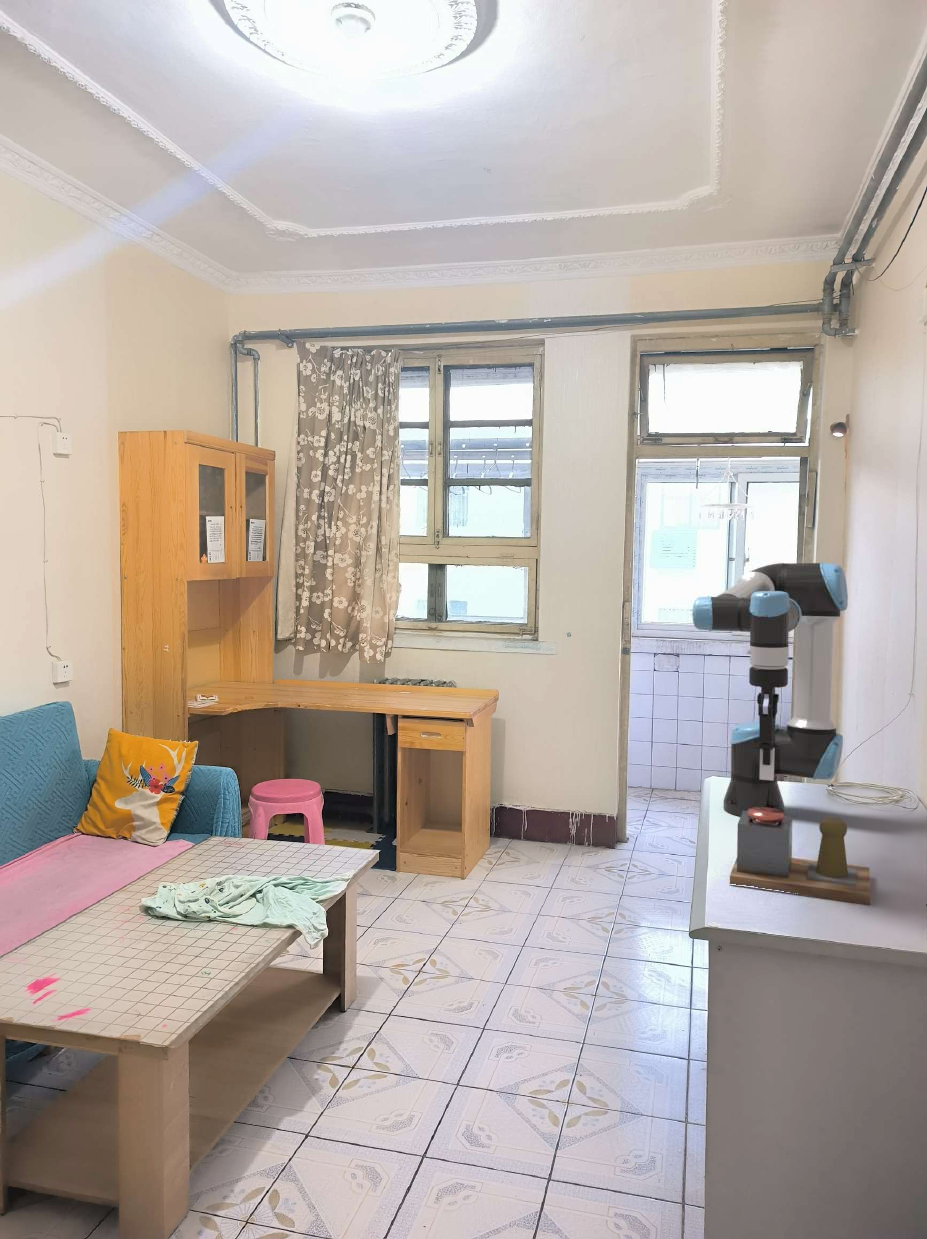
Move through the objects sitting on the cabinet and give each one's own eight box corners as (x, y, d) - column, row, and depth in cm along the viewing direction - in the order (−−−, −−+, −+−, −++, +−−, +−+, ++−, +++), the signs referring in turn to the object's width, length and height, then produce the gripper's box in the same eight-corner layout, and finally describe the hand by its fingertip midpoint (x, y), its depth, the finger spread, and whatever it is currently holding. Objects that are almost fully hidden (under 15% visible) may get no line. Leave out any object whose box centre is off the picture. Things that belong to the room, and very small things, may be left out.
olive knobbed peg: (849, 879, 175) (850, 825, 174) (816, 875, 177) (817, 822, 176) (847, 869, 181) (848, 816, 180) (815, 865, 183) (816, 813, 182)
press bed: (739, 860, 194) (739, 848, 194) (869, 876, 183) (869, 864, 183) (729, 885, 179) (729, 872, 179) (870, 905, 169) (870, 891, 169)
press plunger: (749, 847, 188) (749, 805, 188) (783, 852, 186) (784, 809, 185) (745, 858, 182) (746, 814, 181) (781, 862, 179) (782, 818, 179)
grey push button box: (742, 856, 191) (743, 810, 190) (791, 862, 187) (792, 816, 186) (736, 871, 182) (737, 823, 181) (788, 878, 178) (789, 829, 177)
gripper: (752, 661, 188) (751, 769, 190) (745, 670, 177) (744, 785, 179) (790, 663, 185) (788, 773, 187) (785, 671, 173) (783, 789, 176)
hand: (766, 779), depth 183 cm, fingers closed
